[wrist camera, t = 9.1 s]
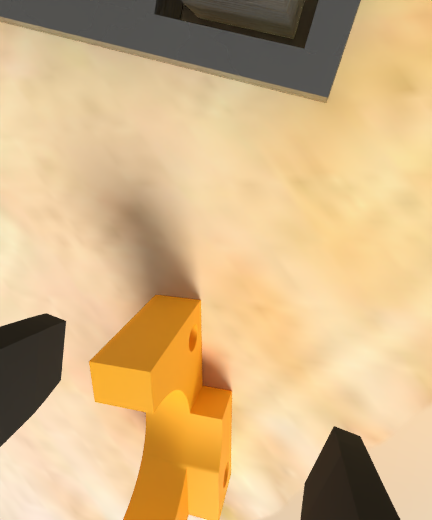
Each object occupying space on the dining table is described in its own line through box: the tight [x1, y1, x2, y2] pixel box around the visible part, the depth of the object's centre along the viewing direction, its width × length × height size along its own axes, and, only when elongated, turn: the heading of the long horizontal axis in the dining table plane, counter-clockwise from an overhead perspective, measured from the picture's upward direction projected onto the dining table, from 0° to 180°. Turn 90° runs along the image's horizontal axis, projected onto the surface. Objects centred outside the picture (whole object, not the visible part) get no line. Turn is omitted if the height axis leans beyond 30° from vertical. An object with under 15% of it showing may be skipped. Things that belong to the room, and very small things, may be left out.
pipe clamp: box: [89, 295, 232, 520], centre depth 18 cm, size 12×4×6 cm, turn 1°
